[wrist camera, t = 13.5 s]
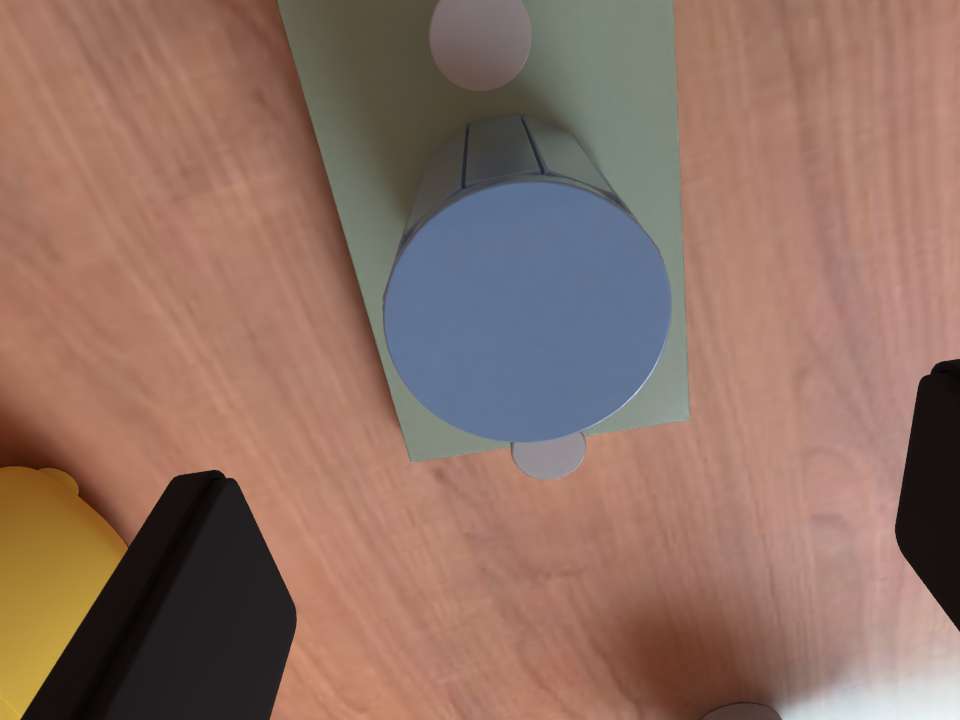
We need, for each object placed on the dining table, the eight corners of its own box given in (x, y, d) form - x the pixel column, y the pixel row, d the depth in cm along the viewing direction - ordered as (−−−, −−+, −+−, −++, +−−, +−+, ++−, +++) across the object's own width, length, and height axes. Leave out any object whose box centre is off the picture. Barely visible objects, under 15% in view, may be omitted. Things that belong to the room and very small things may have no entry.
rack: (266, -76, 21) (166, -113, 14) (653, -163, 20) (743, -247, 13) (413, 442, 30) (395, 567, 23) (680, 401, 29) (740, 519, 22)
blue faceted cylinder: (394, 137, 22) (347, 211, 14) (596, 97, 22) (664, 152, 14) (436, 318, 25) (418, 461, 17) (614, 288, 25) (678, 422, 17)
